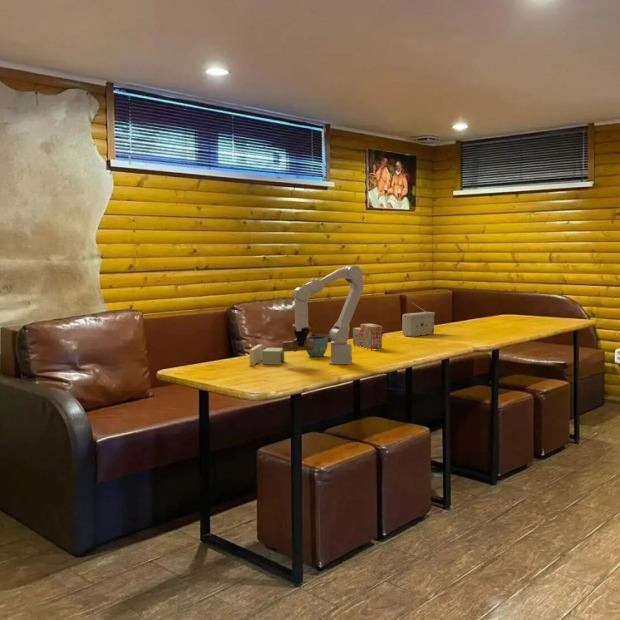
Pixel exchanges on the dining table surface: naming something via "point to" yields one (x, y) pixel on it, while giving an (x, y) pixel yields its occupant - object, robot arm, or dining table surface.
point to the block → (272, 356)
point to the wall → (255, 354)
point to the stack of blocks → (368, 336)
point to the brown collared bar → (294, 345)
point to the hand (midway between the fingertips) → (301, 345)
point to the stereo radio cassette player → (418, 323)
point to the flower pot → (318, 346)
